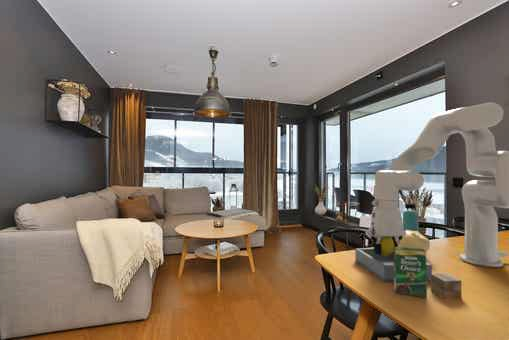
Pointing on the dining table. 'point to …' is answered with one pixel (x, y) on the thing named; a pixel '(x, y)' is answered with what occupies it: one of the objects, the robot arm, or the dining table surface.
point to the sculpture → (414, 241)
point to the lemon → (386, 245)
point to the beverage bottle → (410, 218)
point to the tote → (381, 264)
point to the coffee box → (410, 271)
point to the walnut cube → (446, 285)
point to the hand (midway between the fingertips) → (385, 253)
